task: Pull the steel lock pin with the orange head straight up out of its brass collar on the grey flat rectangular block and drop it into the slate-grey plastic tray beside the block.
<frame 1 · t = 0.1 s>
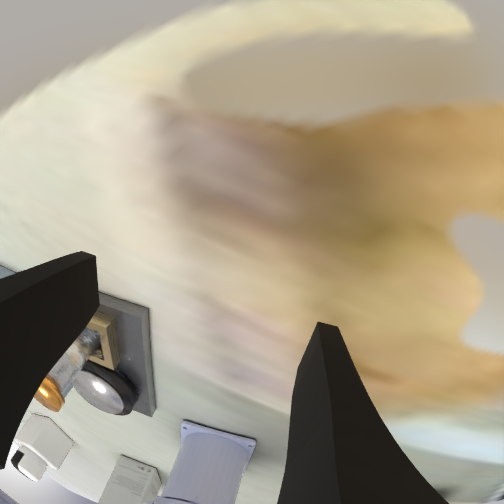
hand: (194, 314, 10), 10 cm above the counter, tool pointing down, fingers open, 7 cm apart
skincare box: (143, 469, 42), on the counter
lock pin: (93, 330, 25), point 1 cm above the counter, touching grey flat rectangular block
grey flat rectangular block: (105, 349, 27), on the counter
medicine bottle: (53, 427, 44), on the counter
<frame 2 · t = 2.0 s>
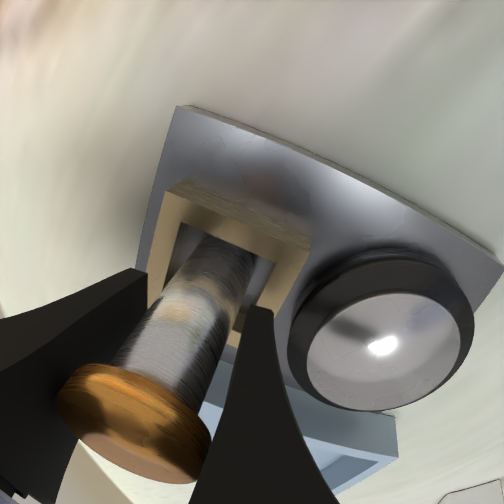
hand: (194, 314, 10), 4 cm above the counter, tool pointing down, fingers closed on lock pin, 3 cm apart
tray: (251, 430, 19), on the counter
lock pin: (222, 264, 12), point 1 cm above the counter, touching gripper, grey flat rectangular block
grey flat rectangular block: (307, 284, 13), on the counter
medicine bottle: (464, 495, 22), on the counter
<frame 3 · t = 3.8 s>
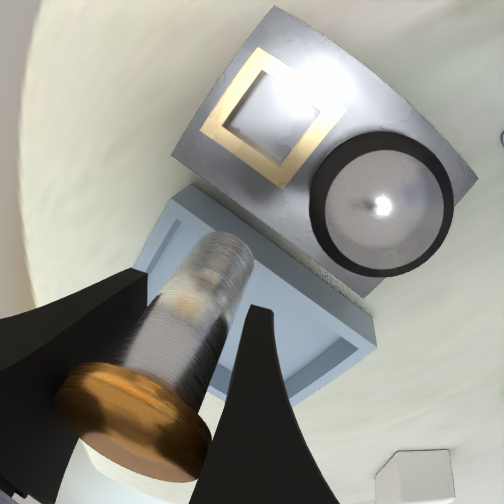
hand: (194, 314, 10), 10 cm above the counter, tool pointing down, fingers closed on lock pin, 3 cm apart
tray: (237, 311, 22), on the counter
lock pin: (222, 260, 12), point 7 cm above the counter, touching gripper
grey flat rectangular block: (329, 155, 17), on the counter
medicine bottle: (411, 462, 29), on the counter
when the fingers open (6 cm above the counter, at t = 5.4 s): lock pin drops 2 cm, resting on tray.
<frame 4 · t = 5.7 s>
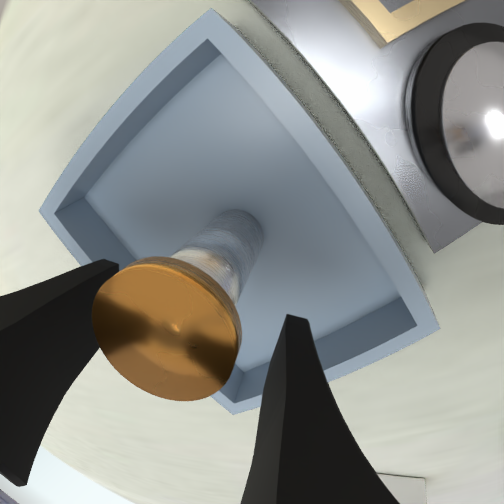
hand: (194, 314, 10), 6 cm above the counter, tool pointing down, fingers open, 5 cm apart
tray: (238, 236, 15), on the counter
lock pin: (236, 236, 14), point 1 cm above the counter, tilted 7°, touching tray
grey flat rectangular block: (434, 46, 9), on the counter
medicine bottle: (378, 486, 24), on the counter
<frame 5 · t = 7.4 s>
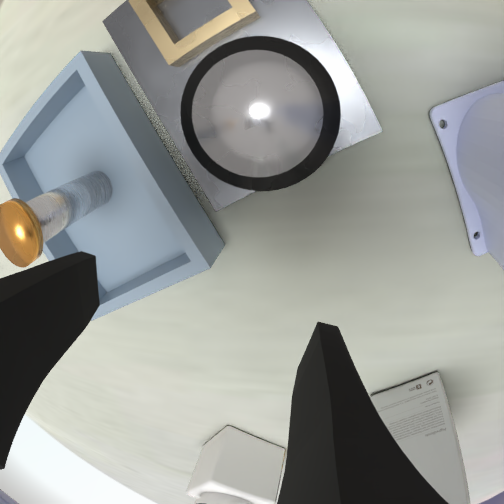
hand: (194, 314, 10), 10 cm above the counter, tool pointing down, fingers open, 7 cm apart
skincare box: (415, 404, 24), on the counter
tray: (102, 189, 20), on the counter
lock pin: (98, 188, 20), point 1 cm above the counter, touching tray
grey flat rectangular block: (233, 58, 15), on the counter
medicine bottle: (243, 446, 31), on the counter
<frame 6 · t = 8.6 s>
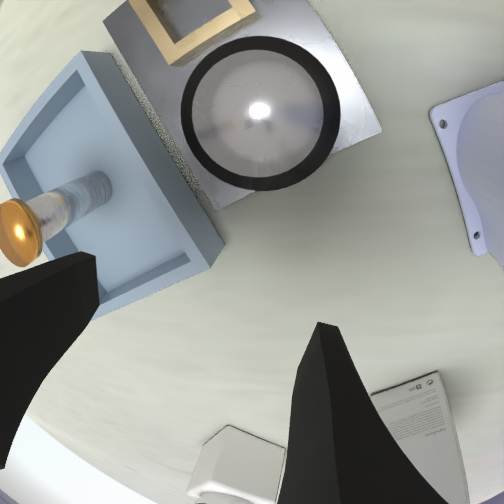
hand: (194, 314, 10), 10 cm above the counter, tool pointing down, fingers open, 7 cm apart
skincare box: (415, 404, 24), on the counter
tray: (103, 189, 20), on the counter
lock pin: (98, 188, 20), point 1 cm above the counter, touching tray
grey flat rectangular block: (233, 58, 15), on the counter
medicine bottle: (243, 446, 31), on the counter
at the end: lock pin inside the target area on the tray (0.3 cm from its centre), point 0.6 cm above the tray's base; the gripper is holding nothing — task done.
